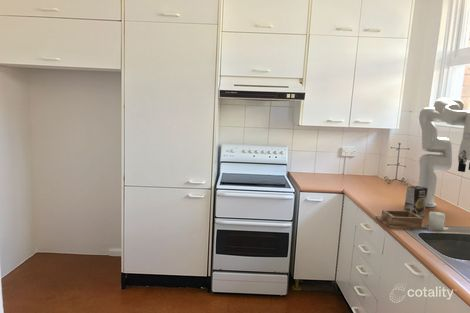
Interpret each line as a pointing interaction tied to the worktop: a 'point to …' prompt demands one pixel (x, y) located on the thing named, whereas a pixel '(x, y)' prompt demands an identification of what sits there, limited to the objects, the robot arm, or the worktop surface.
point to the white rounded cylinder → (436, 220)
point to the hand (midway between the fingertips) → (466, 170)
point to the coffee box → (416, 200)
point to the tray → (401, 220)
